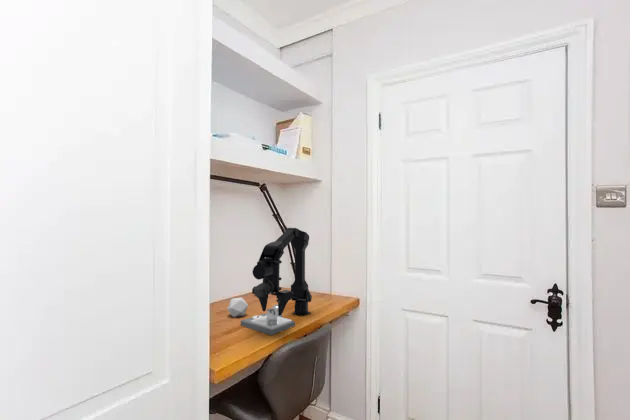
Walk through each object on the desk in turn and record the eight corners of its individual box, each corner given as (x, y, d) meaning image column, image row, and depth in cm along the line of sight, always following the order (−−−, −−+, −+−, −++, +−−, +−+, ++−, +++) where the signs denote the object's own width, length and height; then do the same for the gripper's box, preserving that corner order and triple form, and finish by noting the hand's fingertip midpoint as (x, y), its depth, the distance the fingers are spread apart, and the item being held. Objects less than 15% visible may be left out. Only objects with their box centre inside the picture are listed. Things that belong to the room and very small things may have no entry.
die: (244, 313, 162) (232, 297, 162) (254, 307, 157) (242, 290, 157) (233, 324, 155) (220, 307, 155) (243, 318, 150) (230, 300, 150)
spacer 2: (277, 316, 155) (277, 303, 155) (284, 318, 152) (284, 305, 152) (270, 319, 151) (270, 305, 151) (277, 321, 148) (277, 307, 148)
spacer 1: (272, 321, 139) (272, 307, 139) (279, 324, 136) (279, 309, 136) (264, 324, 135) (264, 309, 135) (271, 326, 132) (272, 311, 132)
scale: (264, 317, 153) (264, 311, 153) (295, 326, 142) (295, 319, 142) (240, 325, 142) (240, 318, 142) (271, 335, 130) (271, 328, 130)
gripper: (242, 275, 135) (241, 313, 135) (274, 281, 124) (274, 323, 123) (262, 271, 144) (261, 307, 144) (294, 277, 132) (293, 316, 132)
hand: (271, 313), depth 135 cm, fingers open, 9 cm apart
